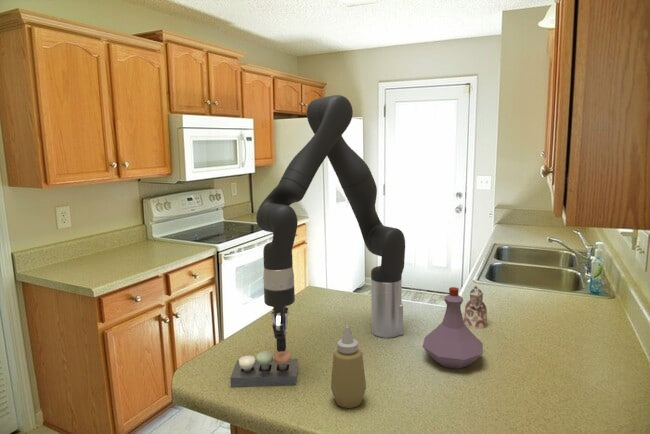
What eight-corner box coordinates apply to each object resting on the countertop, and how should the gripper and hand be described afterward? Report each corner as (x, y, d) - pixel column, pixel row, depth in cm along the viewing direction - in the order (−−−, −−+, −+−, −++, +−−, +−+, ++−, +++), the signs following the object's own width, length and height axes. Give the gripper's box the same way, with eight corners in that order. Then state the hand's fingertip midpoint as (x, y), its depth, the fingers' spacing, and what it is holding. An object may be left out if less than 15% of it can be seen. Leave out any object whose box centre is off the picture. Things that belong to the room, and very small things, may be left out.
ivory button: (256, 369, 116) (256, 355, 115) (254, 377, 112) (253, 362, 111) (241, 370, 116) (240, 355, 115) (238, 378, 112) (237, 363, 111)
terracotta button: (291, 364, 115) (290, 350, 115) (290, 372, 111) (289, 357, 111) (275, 365, 115) (275, 350, 115) (274, 373, 111) (273, 358, 111)
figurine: (462, 327, 141) (463, 290, 139) (464, 318, 147) (465, 283, 145) (486, 330, 138) (487, 293, 136) (487, 321, 144) (488, 285, 142)
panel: (297, 367, 118) (297, 358, 118) (296, 385, 109) (295, 376, 109) (237, 368, 118) (237, 360, 118) (230, 387, 109) (230, 378, 109)
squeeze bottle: (329, 392, 106) (327, 320, 103) (363, 390, 106) (362, 318, 103) (333, 413, 98) (331, 335, 95) (369, 410, 98) (368, 333, 95)
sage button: (274, 365, 115) (273, 350, 115) (272, 373, 111) (271, 358, 111) (258, 365, 115) (257, 351, 115) (256, 373, 111) (255, 358, 111)
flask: (409, 362, 119) (410, 290, 116) (438, 341, 131) (439, 275, 128) (469, 382, 108) (471, 304, 105) (494, 357, 121) (497, 286, 117)
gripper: (292, 292, 103) (294, 362, 106) (295, 276, 116) (297, 338, 119) (260, 293, 103) (263, 363, 106) (267, 276, 116) (269, 339, 119)
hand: (281, 350), depth 113 cm, fingers closed
